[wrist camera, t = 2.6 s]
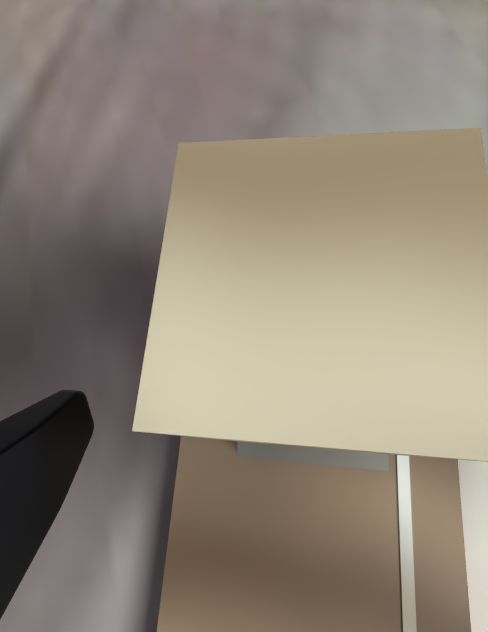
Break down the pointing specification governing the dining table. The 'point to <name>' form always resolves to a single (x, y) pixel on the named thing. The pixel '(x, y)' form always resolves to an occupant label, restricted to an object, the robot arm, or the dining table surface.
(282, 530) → the walnut board
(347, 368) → the tall beige pillar block
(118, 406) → the dining table surface
